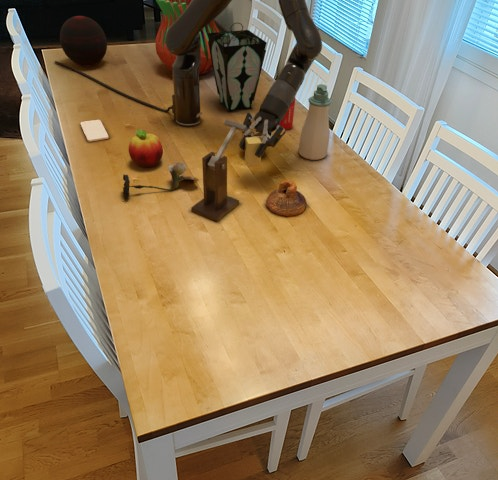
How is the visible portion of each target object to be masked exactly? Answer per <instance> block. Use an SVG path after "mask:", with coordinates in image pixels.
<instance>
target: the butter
mask: <svg viewBox="0 0 498 480" xmlns="http://www.w3.org/2000/svg"><path fill="white" fill-rule="evenodd" d="M261 143H262V142H261V140H260V138H259V137H248V138H245V150H244V163H245V164H246V167H247V168H256V167H258V168H259V167H261V165H262V157H260V158H258V157H257V156H256V155H255V152H256V151H257V149H258V147H259V145H260V144H261Z"/></svg>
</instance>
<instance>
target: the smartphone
mask: <svg viewBox="0 0 498 480" xmlns="http://www.w3.org/2000/svg"><path fill="white" fill-rule="evenodd" d="M80 126H81V129H82V132H83V133H84V136H85V138H86V141H87V142H90V143H91V142H97V141H102V140H107V139H109V138H110V137H109V134H108V132H107V130H106V128H105V126H104V124H103V123H102V120H101V119H95V120H94V119H93V120H86V121H81V122H80Z"/></svg>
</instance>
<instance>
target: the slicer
mask: <svg viewBox="0 0 498 480" xmlns="http://www.w3.org/2000/svg"><path fill="white" fill-rule="evenodd" d="M212 156H215V157H216V152H214V151H211V152H209V153H208V154H206V155H204V156H203V157H202V158H201V161H202V162H201V163H202V187H203V189H202V190H203V198H202V199H201V200H199V201H198V202H196V203H195V204H194V205H193V206H191V208H190V209H191V212H192V213H195V214H196V215H199V216H202V217H204V218H206V219H209V220H212V221H214V222H216V223H218V222H219V221H221V220H222V219H223V218H224V217H225V216H226V215H228V214H229V213H231V212H232V210H234V209H235V208H236V207H237V206H239V204H240V200H239V199H237V198H234V197H231V196H229V195H228V156H226V155H222V157H221V158H220V159H219V160H217V161H216V162H215V170H212V169H210V167H209V166H208V163H209V161H210V159H211V157H212Z"/></svg>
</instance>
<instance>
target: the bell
mask: <svg viewBox="0 0 498 480" xmlns="http://www.w3.org/2000/svg"><path fill="white" fill-rule="evenodd" d="M297 189H298V186H297V184H296V182H295V181H293V180H283V181H281V182H280V183H279V185H278V188H277V189H274V190H272V191H271V192H270V193H269V195H268V196H267V198H266V200H265V205H266V207H267V209H269V211H270V212H272V213H274V214H276V215H280V216H287V217H288V216H289V217H290V216H297V215H299V214H301V213H304V211H305V209H306V207H307V206H308V205H307V203H308V202H307V199H306V197H305V195H303V193H302V192H300V191H298V190H297Z"/></svg>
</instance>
